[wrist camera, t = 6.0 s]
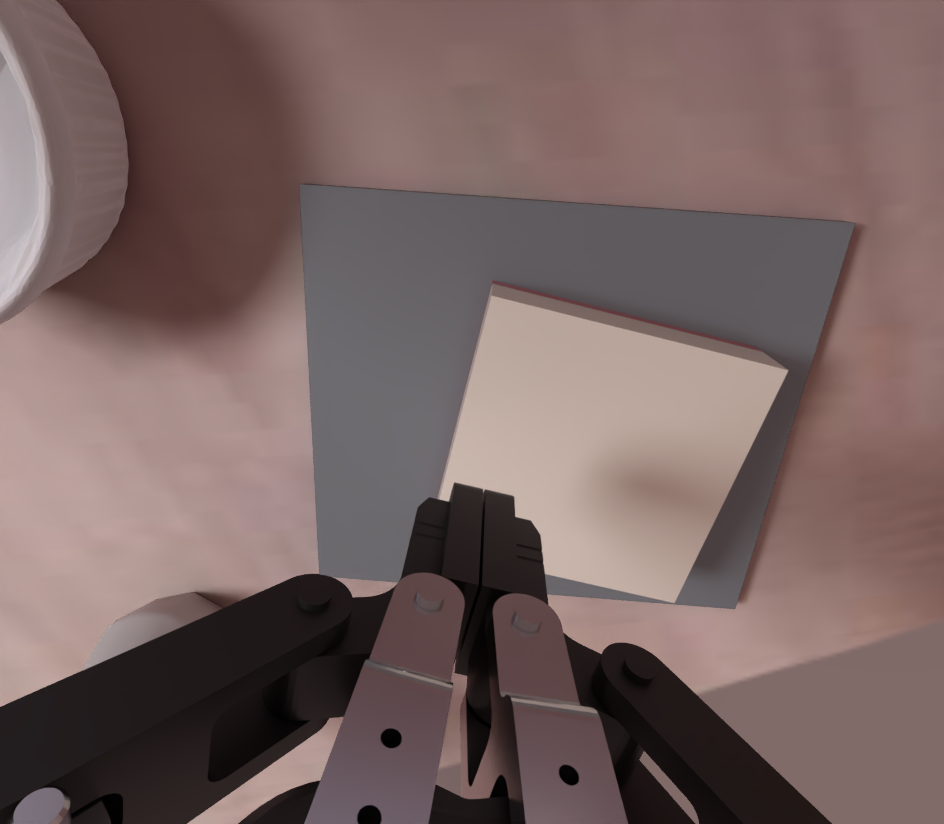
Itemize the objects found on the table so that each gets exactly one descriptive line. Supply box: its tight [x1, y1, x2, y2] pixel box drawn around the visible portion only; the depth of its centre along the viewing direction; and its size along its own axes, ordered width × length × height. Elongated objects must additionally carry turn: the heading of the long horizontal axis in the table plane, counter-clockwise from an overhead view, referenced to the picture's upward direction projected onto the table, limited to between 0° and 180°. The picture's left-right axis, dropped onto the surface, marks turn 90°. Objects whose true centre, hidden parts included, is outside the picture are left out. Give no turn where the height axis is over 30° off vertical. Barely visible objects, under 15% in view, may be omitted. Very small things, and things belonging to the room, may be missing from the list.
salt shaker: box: [82, 592, 223, 671], centre depth 20 cm, size 6×6×13 cm
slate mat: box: [299, 184, 855, 609], centre depth 21 cm, size 15×17×1 cm
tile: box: [437, 280, 788, 603], centre depth 20 cm, size 2×9×9 cm
